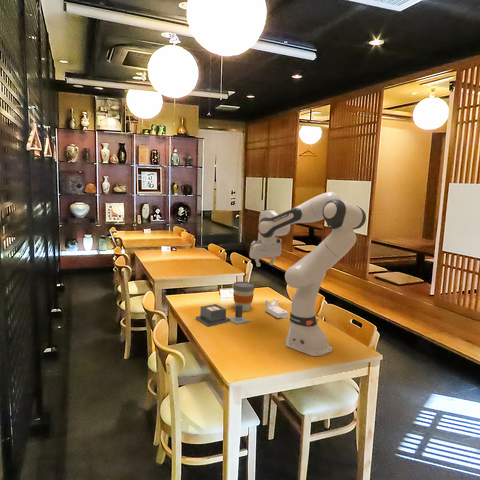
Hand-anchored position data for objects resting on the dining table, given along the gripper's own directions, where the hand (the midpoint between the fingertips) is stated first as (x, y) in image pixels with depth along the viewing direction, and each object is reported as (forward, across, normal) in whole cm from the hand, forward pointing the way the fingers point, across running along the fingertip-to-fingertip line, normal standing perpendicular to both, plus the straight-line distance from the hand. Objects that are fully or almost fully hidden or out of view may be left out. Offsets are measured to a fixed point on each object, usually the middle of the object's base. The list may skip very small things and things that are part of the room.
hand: (265, 265), depth 206 cm
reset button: (+29, -23, +14) cm, 39 cm away
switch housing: (+30, -23, +14) cm, 41 cm away
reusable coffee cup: (+30, +3, +20) cm, 37 cm away
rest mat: (+30, -12, +6) cm, 33 cm away
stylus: (+30, -12, +6) cm, 33 cm away
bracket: (+31, +13, +3) cm, 34 cm away
